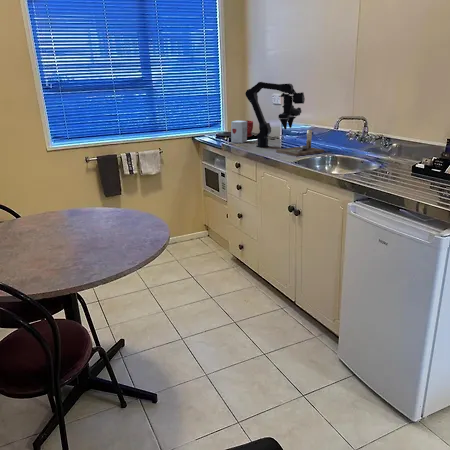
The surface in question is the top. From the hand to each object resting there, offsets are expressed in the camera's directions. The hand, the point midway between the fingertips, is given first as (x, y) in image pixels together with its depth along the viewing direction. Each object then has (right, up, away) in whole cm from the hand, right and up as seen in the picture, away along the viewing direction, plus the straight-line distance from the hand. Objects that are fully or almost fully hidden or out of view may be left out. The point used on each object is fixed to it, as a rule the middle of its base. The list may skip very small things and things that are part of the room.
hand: (287, 128), depth 278 cm
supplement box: (-31, -2, +33) cm, 45 cm away
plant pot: (-26, +7, +60) cm, 66 cm away
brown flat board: (+6, -17, -11) cm, 21 cm away
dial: (+8, -16, -13) cm, 22 cm away
